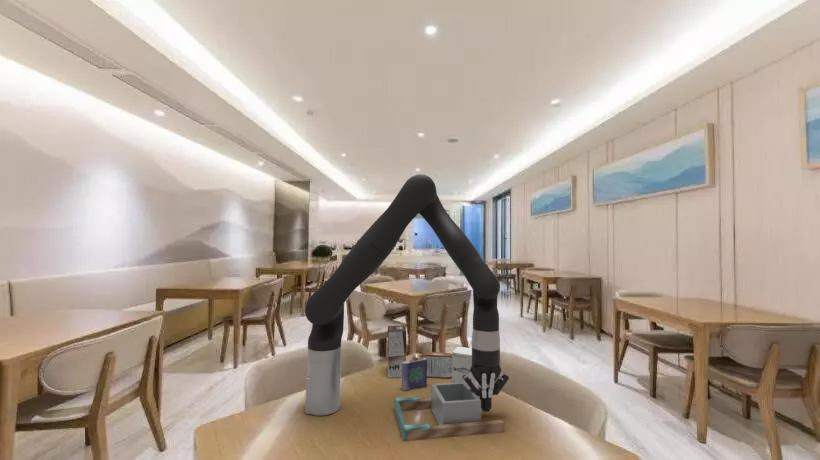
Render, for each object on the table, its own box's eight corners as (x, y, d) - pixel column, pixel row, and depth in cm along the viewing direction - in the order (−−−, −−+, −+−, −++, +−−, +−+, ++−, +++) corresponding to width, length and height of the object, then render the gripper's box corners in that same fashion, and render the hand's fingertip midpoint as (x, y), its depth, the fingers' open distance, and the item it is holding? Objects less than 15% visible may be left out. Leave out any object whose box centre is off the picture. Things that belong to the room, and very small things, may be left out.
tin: (459, 376, 125) (459, 352, 125) (459, 380, 122) (459, 355, 122) (416, 374, 126) (417, 350, 127) (416, 377, 123) (416, 353, 124)
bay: (403, 442, 83) (403, 428, 83) (394, 409, 100) (394, 398, 100) (504, 433, 88) (504, 420, 88) (479, 403, 104) (479, 392, 104)
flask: (404, 392, 111) (404, 357, 111) (399, 389, 114) (399, 355, 114) (428, 386, 116) (428, 353, 116) (423, 383, 118) (423, 351, 119)
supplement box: (450, 392, 112) (451, 351, 112) (457, 383, 118) (458, 345, 119) (473, 396, 108) (473, 355, 109) (479, 387, 115) (479, 348, 116)
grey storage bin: (442, 432, 87) (442, 403, 88) (431, 409, 99) (431, 384, 99) (480, 428, 89) (481, 400, 89) (465, 407, 101) (465, 382, 101)
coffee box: (406, 377, 123) (406, 331, 124) (387, 378, 123) (388, 331, 123) (403, 368, 133) (404, 325, 133) (386, 368, 132) (387, 325, 132)
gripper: (467, 350, 92) (466, 419, 91) (514, 348, 94) (514, 415, 93) (458, 342, 99) (457, 405, 98) (502, 341, 101) (502, 402, 101)
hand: (485, 410), depth 96 cm, fingers closed
